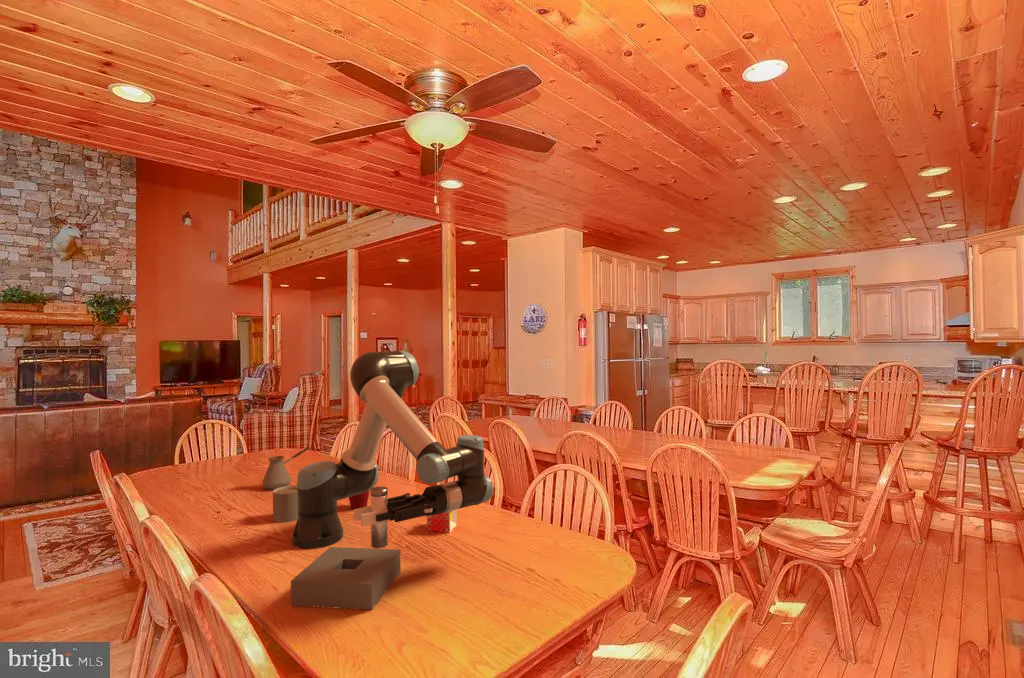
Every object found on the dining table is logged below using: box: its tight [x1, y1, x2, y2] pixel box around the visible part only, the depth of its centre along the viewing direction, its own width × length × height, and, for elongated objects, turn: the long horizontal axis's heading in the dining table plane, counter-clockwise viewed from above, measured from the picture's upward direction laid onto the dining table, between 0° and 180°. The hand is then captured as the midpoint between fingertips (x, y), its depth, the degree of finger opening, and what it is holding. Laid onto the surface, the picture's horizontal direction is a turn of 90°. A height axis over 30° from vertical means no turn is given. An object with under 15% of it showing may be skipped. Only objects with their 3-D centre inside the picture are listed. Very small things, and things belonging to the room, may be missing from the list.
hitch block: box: [290, 546, 402, 610], centre depth 133 cm, size 20×20×6 cm
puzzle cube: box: [426, 509, 458, 533], centre depth 174 cm, size 8×8×8 cm
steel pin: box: [369, 486, 389, 549], centre depth 130 cm, size 4×4×14 cm
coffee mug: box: [272, 485, 298, 523], centre depth 188 cm, size 13×10×10 cm
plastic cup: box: [348, 490, 370, 510], centre depth 196 cm, size 11×11×12 cm
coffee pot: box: [261, 446, 312, 491], centre depth 228 cm, size 21×12×15 cm, turn 139°
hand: (358, 517), depth 127 cm, fingers closed on steel pin, 4 cm apart
